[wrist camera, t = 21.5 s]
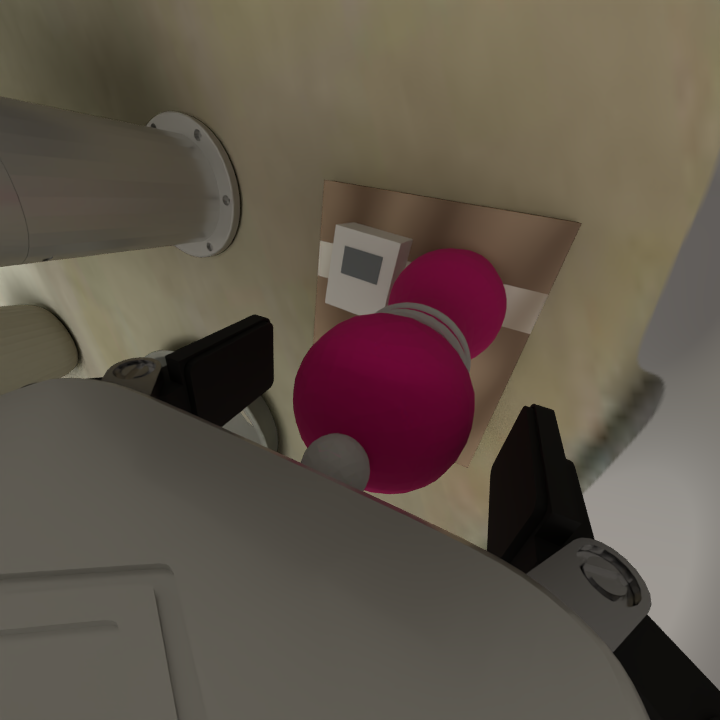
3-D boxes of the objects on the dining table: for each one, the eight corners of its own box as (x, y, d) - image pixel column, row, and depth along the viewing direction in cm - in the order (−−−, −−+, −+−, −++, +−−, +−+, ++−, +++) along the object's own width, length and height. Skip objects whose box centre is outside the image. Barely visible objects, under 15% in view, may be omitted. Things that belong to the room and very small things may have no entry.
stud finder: (341, 293, 27) (324, 302, 25) (353, 222, 24) (335, 224, 22) (393, 312, 26) (380, 323, 24) (412, 239, 23) (400, 243, 21)
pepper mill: (408, 332, 26) (236, 540, 10) (409, 242, 23) (162, 334, 7) (500, 341, 23) (465, 650, 7) (515, 240, 20) (514, 387, 4)
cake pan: (278, 501, 51) (259, 524, 47) (168, 428, 56) (144, 444, 52) (303, 391, 37) (279, 412, 34) (156, 309, 43) (122, 319, 39)
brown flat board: (316, 394, 36) (309, 401, 35) (333, 180, 25) (324, 180, 24) (469, 457, 31) (467, 468, 30) (577, 222, 20) (581, 223, 19)
